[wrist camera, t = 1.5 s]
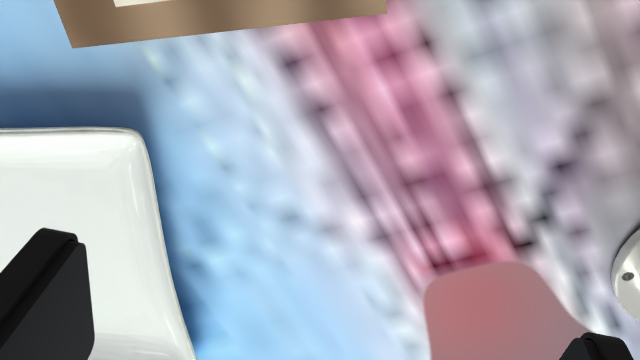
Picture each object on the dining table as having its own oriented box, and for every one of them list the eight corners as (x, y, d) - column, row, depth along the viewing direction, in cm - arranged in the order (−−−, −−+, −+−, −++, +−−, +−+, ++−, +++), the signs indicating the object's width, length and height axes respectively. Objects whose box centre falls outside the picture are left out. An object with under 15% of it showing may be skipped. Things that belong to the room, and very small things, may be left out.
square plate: (159, 105, 36) (138, 130, 33) (214, 361, 51) (203, 396, 48) (-190, 102, 39) (-242, 125, 35) (-41, 346, 53) (-68, 378, 50)
